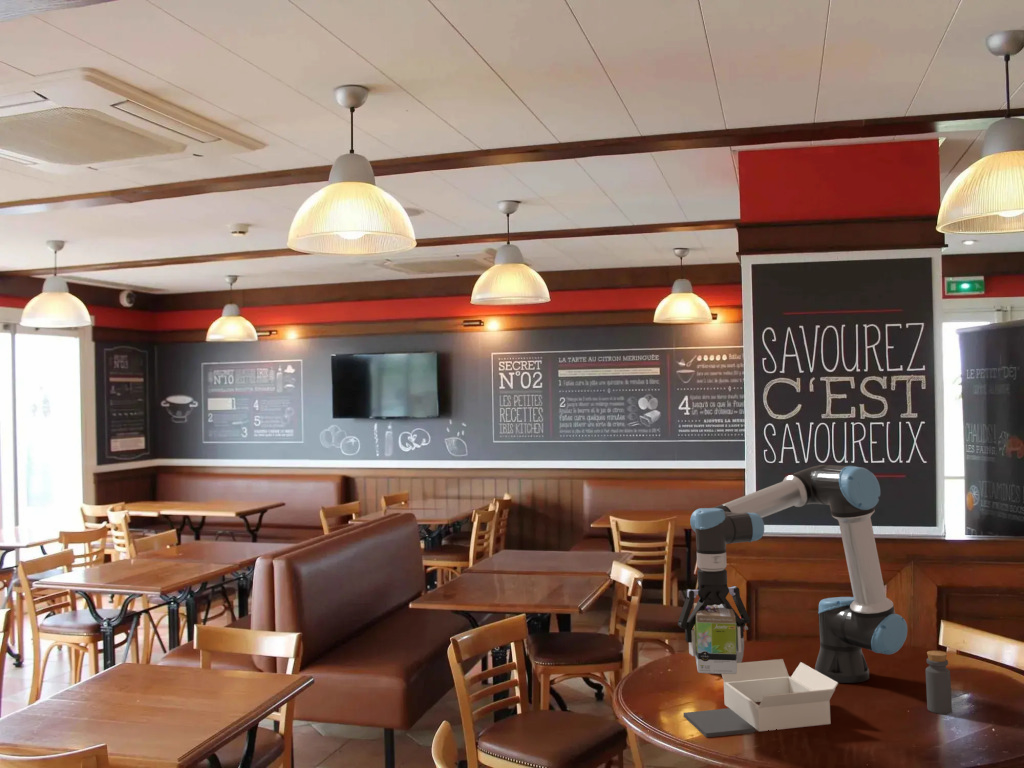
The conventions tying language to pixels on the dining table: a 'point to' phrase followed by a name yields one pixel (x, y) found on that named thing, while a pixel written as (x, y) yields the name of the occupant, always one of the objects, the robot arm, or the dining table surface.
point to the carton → (778, 695)
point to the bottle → (938, 683)
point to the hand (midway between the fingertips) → (715, 652)
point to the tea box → (715, 640)
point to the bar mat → (718, 722)
